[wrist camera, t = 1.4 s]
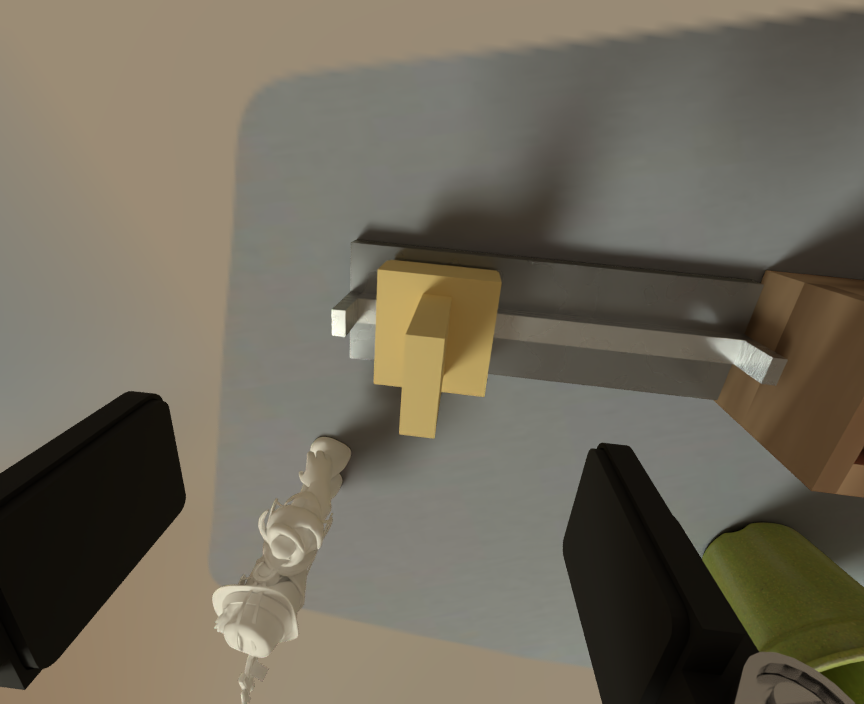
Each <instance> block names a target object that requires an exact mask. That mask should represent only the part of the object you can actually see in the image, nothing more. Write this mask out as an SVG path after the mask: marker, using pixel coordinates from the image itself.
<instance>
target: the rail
mask: <svg viewBox="0 0 864 704" xmlns="http://www.w3.org/2000/svg"><path fill="white" fill-rule="evenodd" d="M387 260H389V261H390V260H399V261H409V262H419V263H428V264H438V265H448V266H457V267H467V268H477V269H486V270H496V271H497V272H499V274H500V278H501V282H502V284H501V291H500V297H499V304H498V310H497V317H496V323H495V330H494V336H493V343H492V349H491V356H490V362H489V369H488V374H494V375H503V376H512V377H520V378H529V379H537V380H546V381H555V382H563V383H572V384H581V385H589V386H598V387H607V388H615V389H624V390H633V391H641V392H650V393H658V394H667V395H676V396H684V397H693V398H702V399H710V400H718V398H719V395H720V393H721V390H722V388H723V385H724V383H725V380H726V378H727V375H728V373H729V371H730V368H731V366H732V364H734V365H736V366H737V367H738V368H740V369H741V370H743V371H744V372H745V373H747V374H748V375H750V376H751V377H752V378H754V379H755V380H756V381H758V382H759V383H761V384H766V385H775V386H776V385H777V383H778V380H779V378H780V376H781V374H782V372H783V369H784V367H785V365H786V363H787V361H788V359H786V358H784V357H783V356H781V355H779V354H777V353H776V352H774V351H772V350H771V349H769V348H767V347H765V346H764V345H762V344H760V343H758V342H757V341H755V340H753V339H752V338H750V337H748V336H746V335H745V331H746V329H747V326H748V324H749V321H750V319H751V316H752V314H753V311H754V309H755V306H756V304H757V301H758V299H759V296H760V294H761V292H762V289H763V287H764V284H761V283H758V282H756V281H753V280H749V279H739V278H729V277H720V276H710V275H700V274H690V273H680V272H670V271H660V270H651V269H641V268H631V267H621V266H611V265H601V264H591V263H582V262H572V261H562V260H552V259H542V258H532V257H523V256H513V255H503V254H493V253H483V252H473V251H463V250H454V249H444V248H434V247H424V246H414V245H404V244H394V243H385V242H375V241H365V240H355V241H353V242H351V282H350V293H349V294H348V295H346V296H345V297H344V298H343V299H342V300H341V301H340V302H339V303H338V304H337V305H336V306H335V307H334V308H333V309H332V335H334V336H342V337H346V335H347V334H348V333H349V332H350V358H356V359H365V360H373V361H374V360H375V331H376V301H377V272H378V269H379V268H380V267H381V266H382V265H383V264H384V263H385V262H386V261H387Z"/></svg>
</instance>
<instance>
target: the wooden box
mask: <svg viewBox="0 0 864 704" xmlns="http://www.w3.org/2000/svg"><path fill="white" fill-rule="evenodd" d="M761 284H764V287H763V289H762V292H761V294H760V296H759V299H758V301H757V304H756V306H755V309H754V311H753V314H752V316H751V319H750V321H749V324H748V326H747V329H746V331H745V335H746V336H748V337H750V338H752V339H753V340H755V341H757V342H758V343H760V344H762V345H764V346H765V347H767V348H769V349H771V350H772V351H774V352H776V353H777V354H779V355H781V356H783V357H784V358H786V359H788V361H787V363H786V365H785V367H784V369H783V372H782V374H781V376H780V378H779V380H778V383H777V385H776V386H775V385H766V384H761V383H759V382H758V381H756V380H755V379H754V378H752V377H751V376H750V375H748V374H747V373H745V372H744V371H743V370H741V369H740V368H738V367H737V366H736V365H734V364H732V366H731V368H730V371H729V373H728V375H727V378H726V380H725V383H724V385H723V388H722V390H721V393H720V395H719V398H718V400H714V401H715V402H716V403H717V404H718V405H719V406H720V407H721V408H722V409H723V410H725V411H726V412H727V413H728V414H729V415H730V416H731V417H732V418H733V419H734V420H735V421H736V422H737V423H739V424H740V425H741V426H742V427H743V428H744V429H745V430H746V431H747V432H748V433H749V434H750V435H752V436H753V437H754V438H755V439H756V440H757V441H758V442H759V443H760V444H761V445H762V446H763V447H764V448H766V449H767V450H768V451H769V452H770V453H771V454H772V455H773V456H774V457H775V458H776V459H777V460H778V461H780V462H781V463H782V464H783V465H784V466H785V467H786V468H787V469H788V470H789V471H790V472H791V473H792V474H794V475H795V476H796V477H797V478H798V479H799V480H800V481H801V482H802V483H803V484H804V485H805V486H806V487H808V488H809V489H810V490H811V491H816V492H824V493H832V494H840V495H848V496H856V497H864V280H858V279H848V278H838V277H828V276H818V275H808V274H798V273H788V272H778V271H768V270H766V271H765V274H764V276H763V279H762V281H761Z"/></svg>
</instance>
